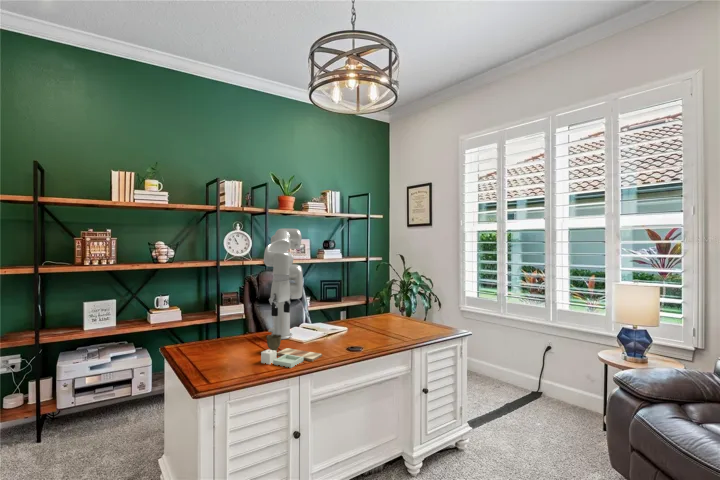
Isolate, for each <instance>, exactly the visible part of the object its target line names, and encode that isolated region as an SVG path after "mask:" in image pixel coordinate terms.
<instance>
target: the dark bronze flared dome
mask: <svg viewBox="0 0 720 480" xmlns="http://www.w3.org/2000/svg"><path fill="white" fill-rule="evenodd" d="M281 341H282V339H281V335H278V334H277V335H276V334H275V335H274V334H273V335H271V334H268V335H266V345H267V347H268V349H269V350H275V351H278V348H279V347H280V345H281Z"/></svg>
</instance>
